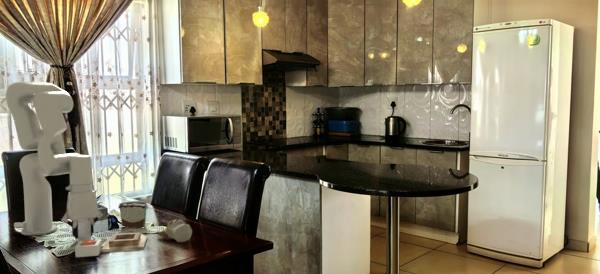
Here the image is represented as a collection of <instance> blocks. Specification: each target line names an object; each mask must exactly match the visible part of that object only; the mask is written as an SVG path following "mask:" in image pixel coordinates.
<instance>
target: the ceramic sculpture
mask: <svg viewBox="0 0 600 274" xmlns="http://www.w3.org/2000/svg"><path fill="white" fill-rule="evenodd" d="M156 233H157V235H158V236H160V237H161V238H170V239H172V240H175V241H176V242H177V243H185V242H187V241H189V240H190V239H191V237H192V234H193V229H192V227H191V226H190V224H187V223H185V222H184V220H183V219H182V218H180V217H175V218H174V220H173V219H172V220H171V221H169V222H168V223H167V225H166V228H165V229H163V230H162V231H160V230H159V231H156Z"/></svg>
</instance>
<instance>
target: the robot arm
mask: <svg viewBox="0 0 600 274" xmlns="http://www.w3.org/2000/svg"><path fill="white" fill-rule="evenodd" d="M5 101H6V104H7V108H8V110H9V112H10V114H11V117H12V118H13V119H12V120H13V121H14V127H15V131H16V135H17V140H18V144H19V146H20V149H22V150H23V151H27V152H28V151H30V152H31V151H37V152H36V153H35V152H34V153H29V154H27V155H24V156H23V157H22V158H21V159H20V161H19V171H20V174H21V177H22V182H23V184H22V185H23V197H24V198H23V201H24V221H23V222H14V223H13V227H14V228H15V229H21V230H20V231H21V232H20V233H21V235H24V236H41V235H47V234H51V233H54V232H56V231H57V230H58V226H57V225H56V224H55V225H54V223H53V206H52V205H53V203H52V200H53V199H52V187H51V184H50V182H49V181H48V180H47V178H46V177H48V176H61V175H66V174H69V185H68V186H65V191H68V195H67V201H66V212H65V213H64V215H63V216H62V217H61V222H63V223H64V224H66V225H69V226H70V227H71V230H72V231H71V232H72V233H71V234H72V237H73V238H75V240H76V239H77V238H78V229H77V226H76V225H77V220H83V219H89V220H90V221H91V237H93V234H94V233H95V231H94V230H95V229H94V226H95V225H96V223H97V221H98V220H99V219H100V218H102V217H103V216H104V214H103V213H102V212H101V211H100V209H99V208H98V207H99V206H98V205H99V204H98V199H97V193H96V190H93V166H92V165H93V164H92V163H93V162H92V157H91V156H90V155H89V154H80V153H77V152H69V153H66V148H65V144H64V138H63V136H62V135H63V133H64V132H65V131H66V130H67V128H68V126H67V125H68V124H67V122H66V120H65V117H64V113H65V114H67V113H70V112H72V110H73V108H74V100H73V97H72V96H71V95H70V94H69V92H67V91H66V90H64V89H62V88H60V87H59V86H57V85H55V84H53V83H50V82H37V81H35V82H33V81H17V82H14V83H13V82H12V83H11V84H10V85H8V86H7V89H6V91H5ZM29 104H33V107H34V109H33V108H32V107H31V106H30V105H29Z"/></svg>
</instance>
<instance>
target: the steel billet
mask: <svg viewBox="0 0 600 274" xmlns="http://www.w3.org/2000/svg"><path fill="white" fill-rule="evenodd" d="M76 226H77V229H78V238H77V239H76V238H75V242H76V241H77V242H76V243H77V244H78V243H79V242H80V241H85V240H92V236H91V221H90V220H89V219H83V220H77V225H76Z"/></svg>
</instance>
